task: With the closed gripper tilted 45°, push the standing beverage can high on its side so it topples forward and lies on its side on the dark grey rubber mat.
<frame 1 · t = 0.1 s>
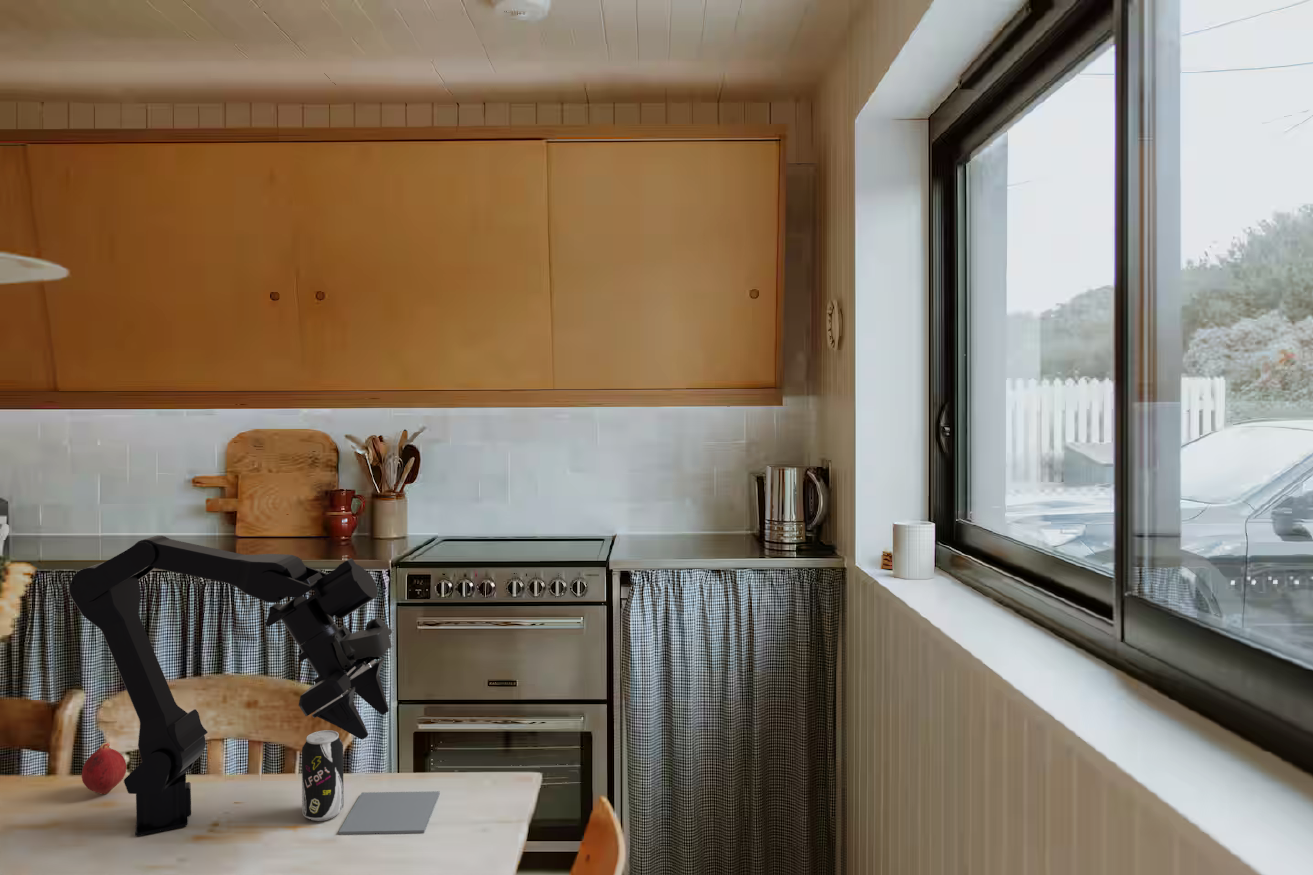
hand: (376, 724, 125), 15 cm above the table, tool tilted 35°, fingers open, 9 cm apart
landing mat: (391, 812, 130), on the table
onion: (104, 795, 135), on the table
beverage can: (323, 815, 129), on the table
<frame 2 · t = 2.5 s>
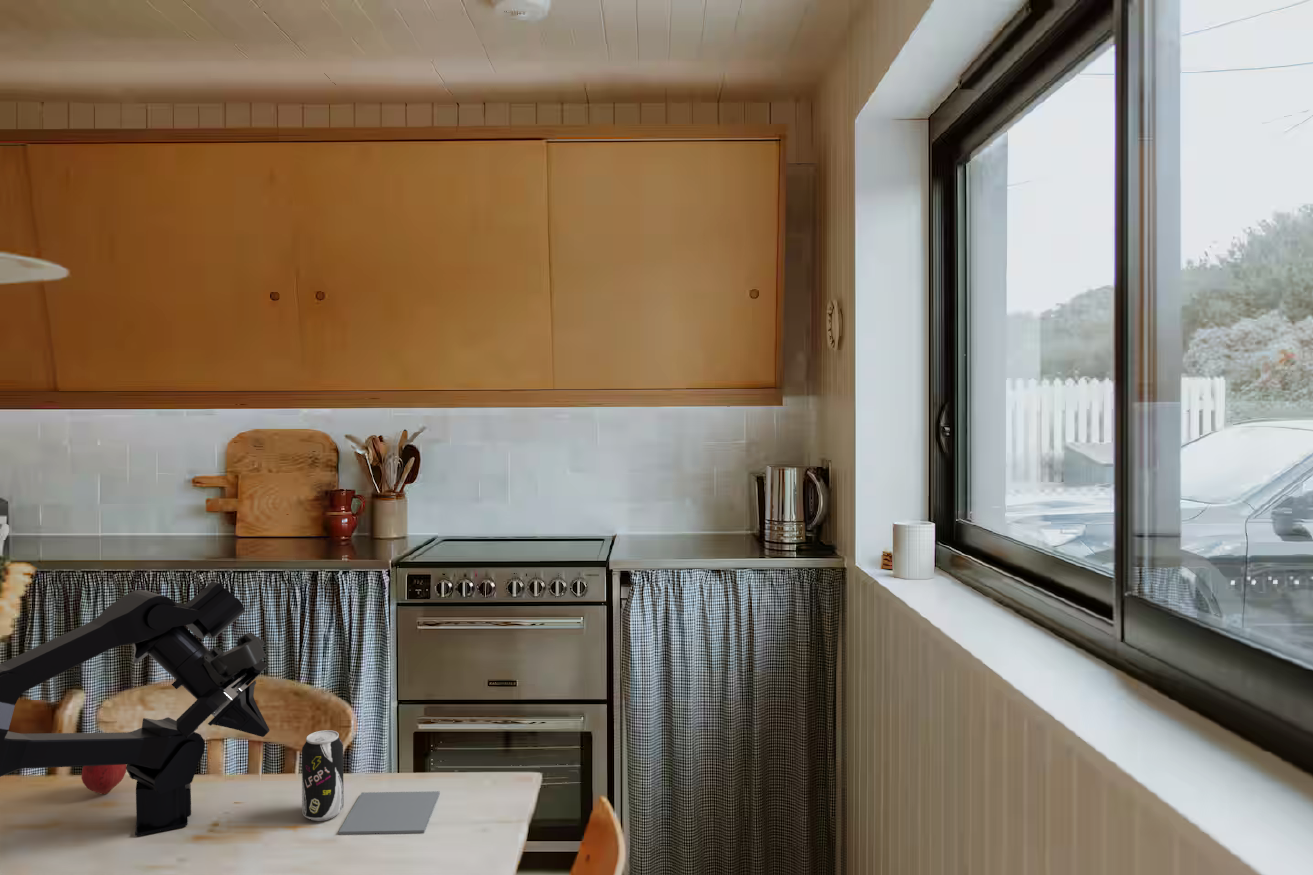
hand: (266, 733, 128), 12 cm above the table, tool tilted 45°, fingers closed
nothing on the table moved.
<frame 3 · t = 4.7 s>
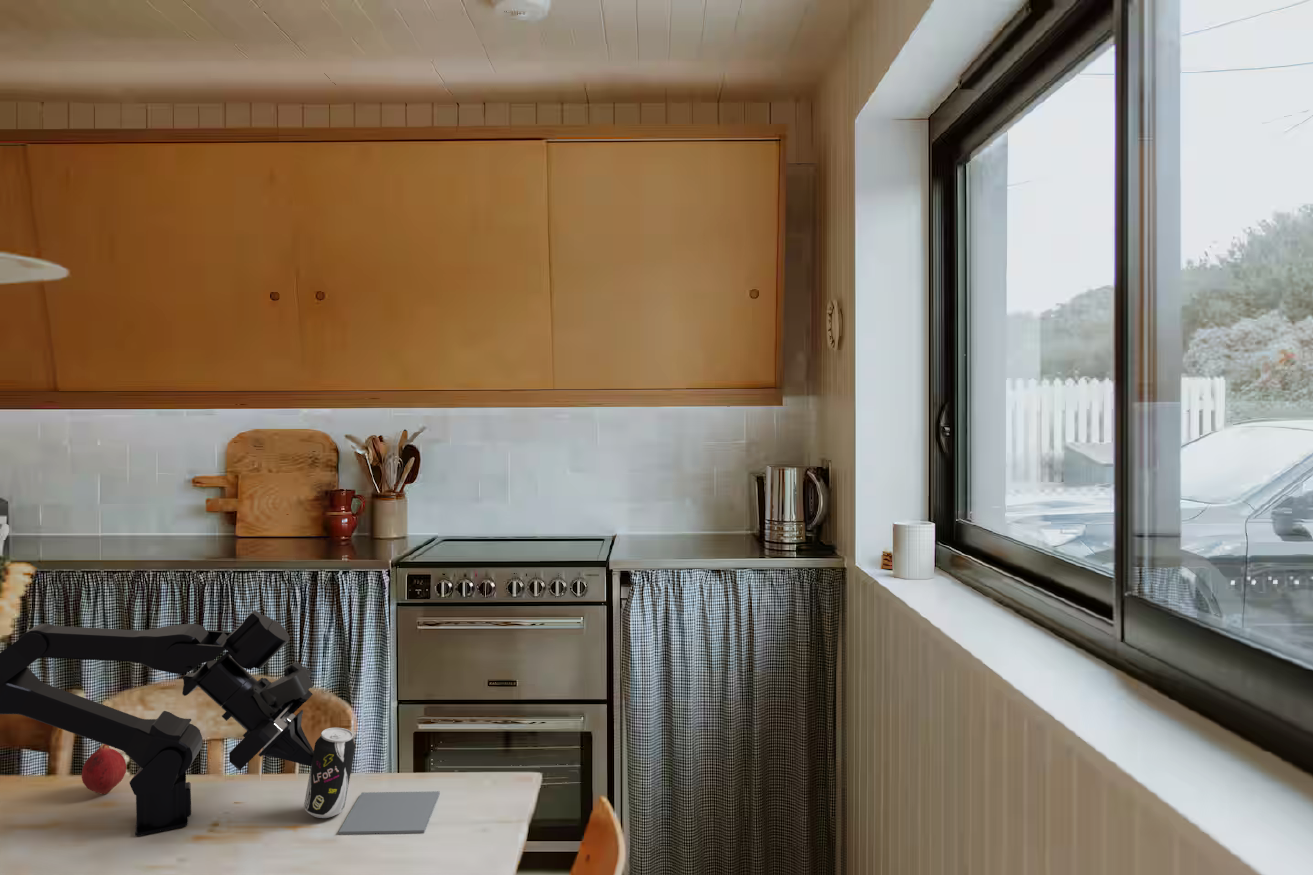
hand: (315, 763, 129), 8 cm above the table, tool tilted 45°, fingers closed
beverage can: (323, 812, 129), on the table, touching gripper
everything else where it was.
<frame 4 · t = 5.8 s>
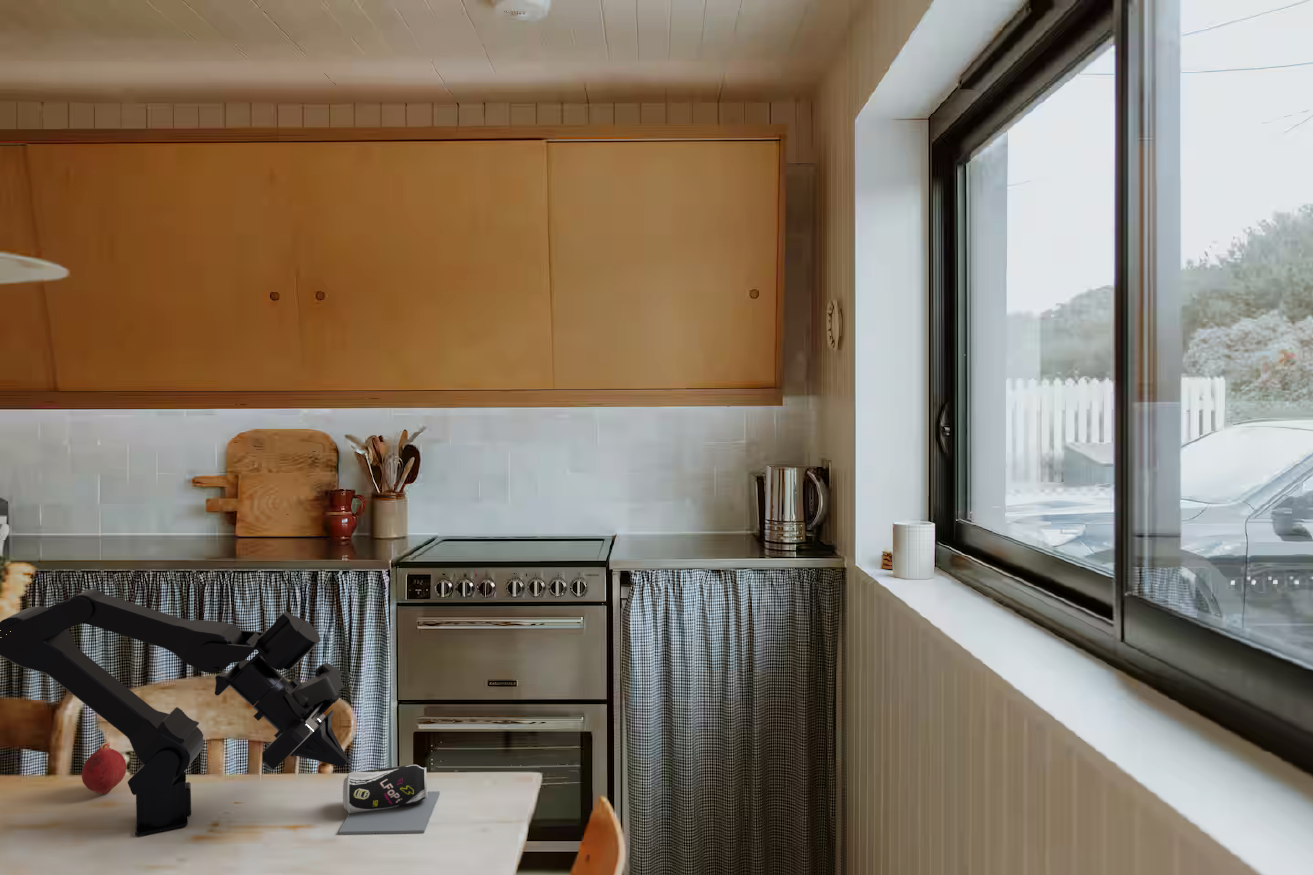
hand: (345, 763, 129), 8 cm above the table, tool tilted 45°, fingers closed
beverage can: (342, 793, 130), point 3 cm above the table, touching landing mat
everything else where it was.
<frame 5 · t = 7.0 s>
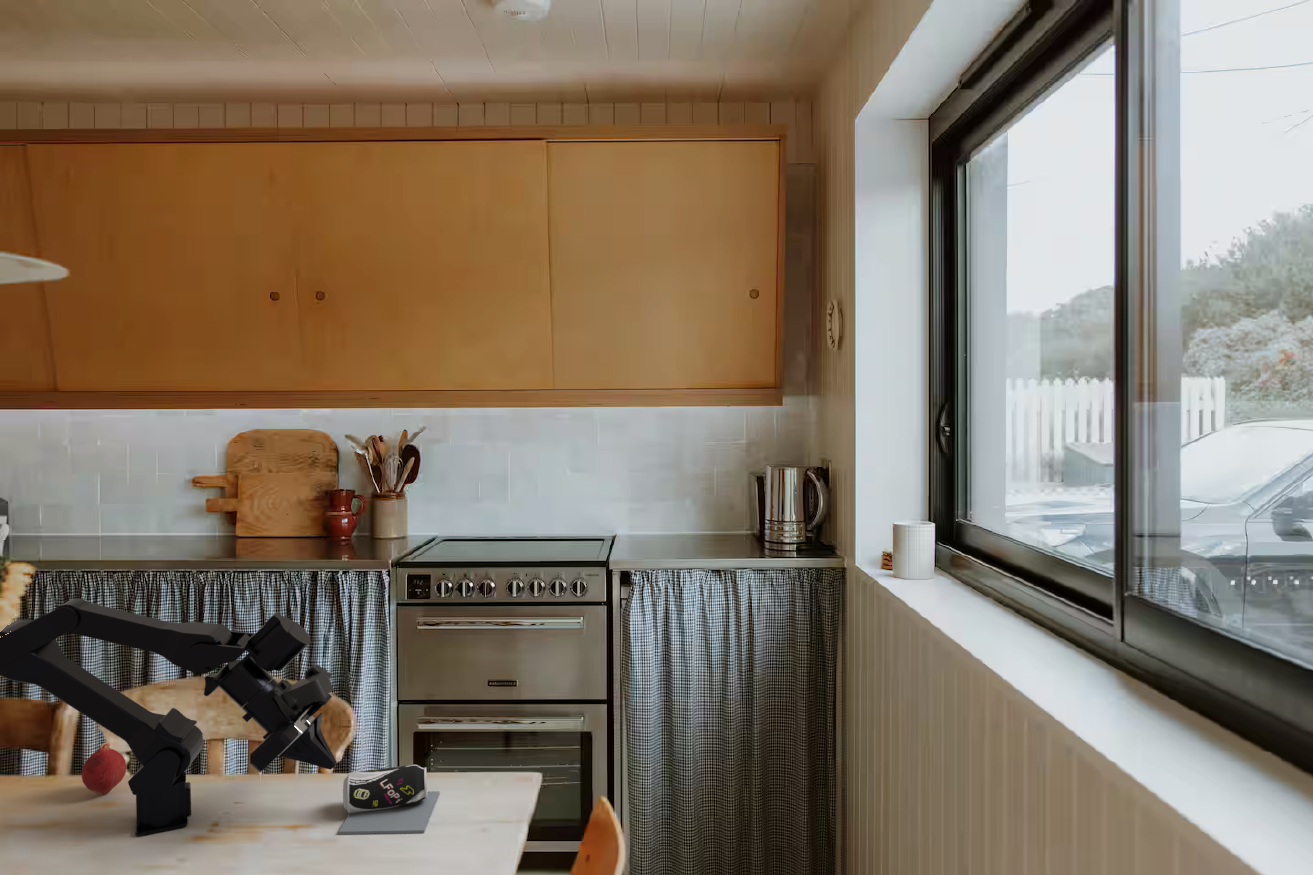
hand: (334, 766, 129), 7 cm above the table, tool tilted 45°, fingers closed
beverage can: (342, 793, 130), point 3 cm above the table, touching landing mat
everything else where it was.
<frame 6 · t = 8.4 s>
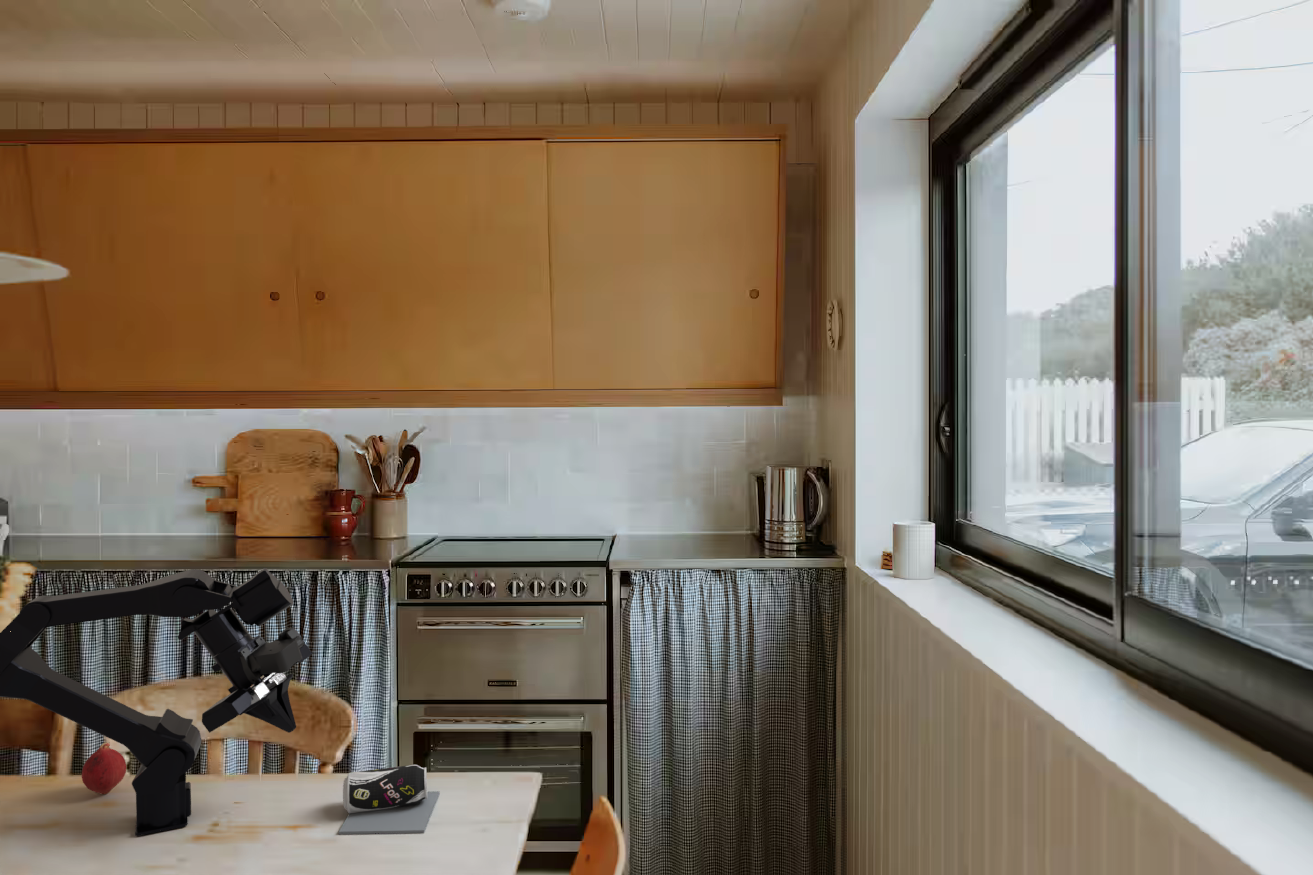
hand: (292, 730, 129), 12 cm above the table, tool tilted 35°, fingers closed
nothing on the table moved.
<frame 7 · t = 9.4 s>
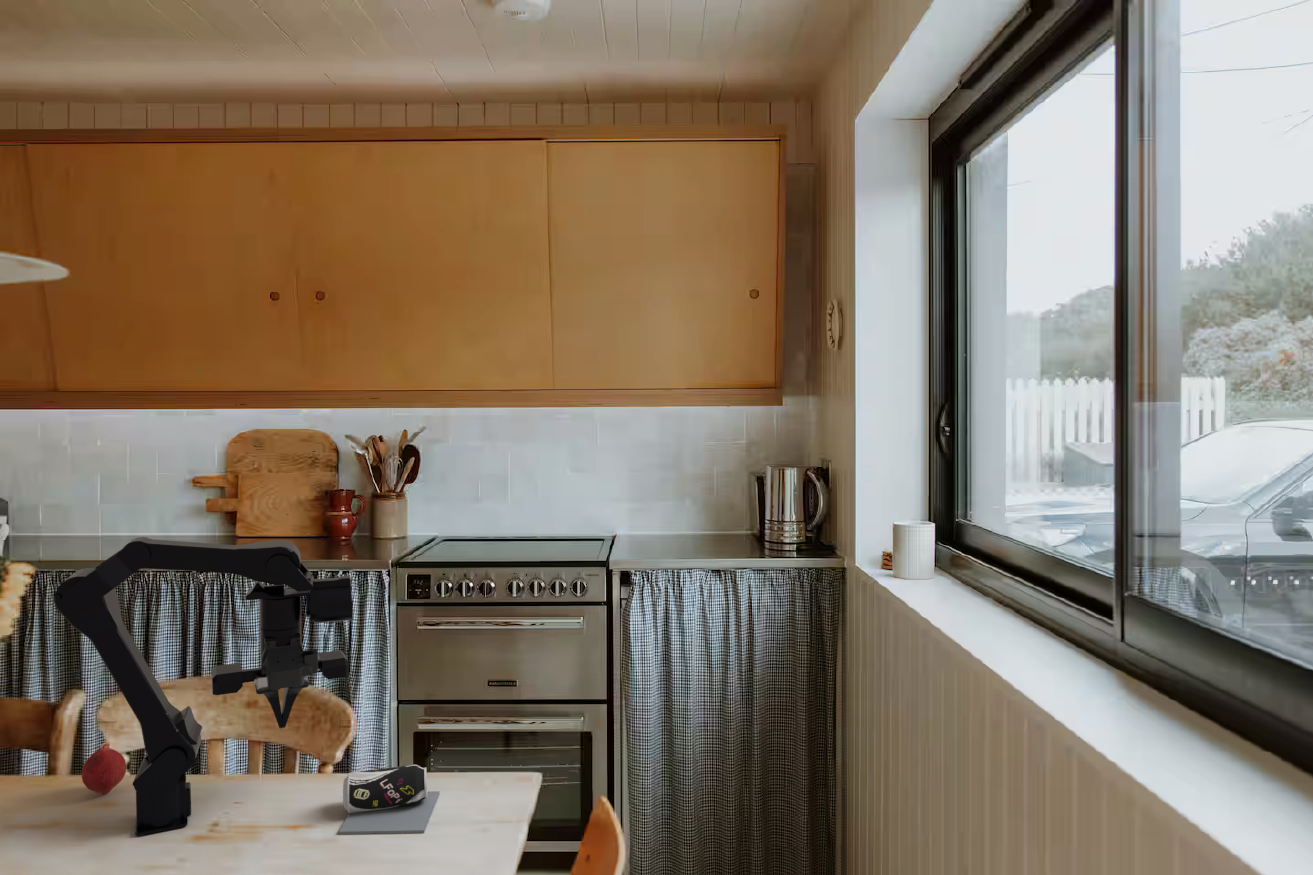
hand: (282, 727, 131), 12 cm above the table, tool pointing down, fingers closed
nothing on the table moved.
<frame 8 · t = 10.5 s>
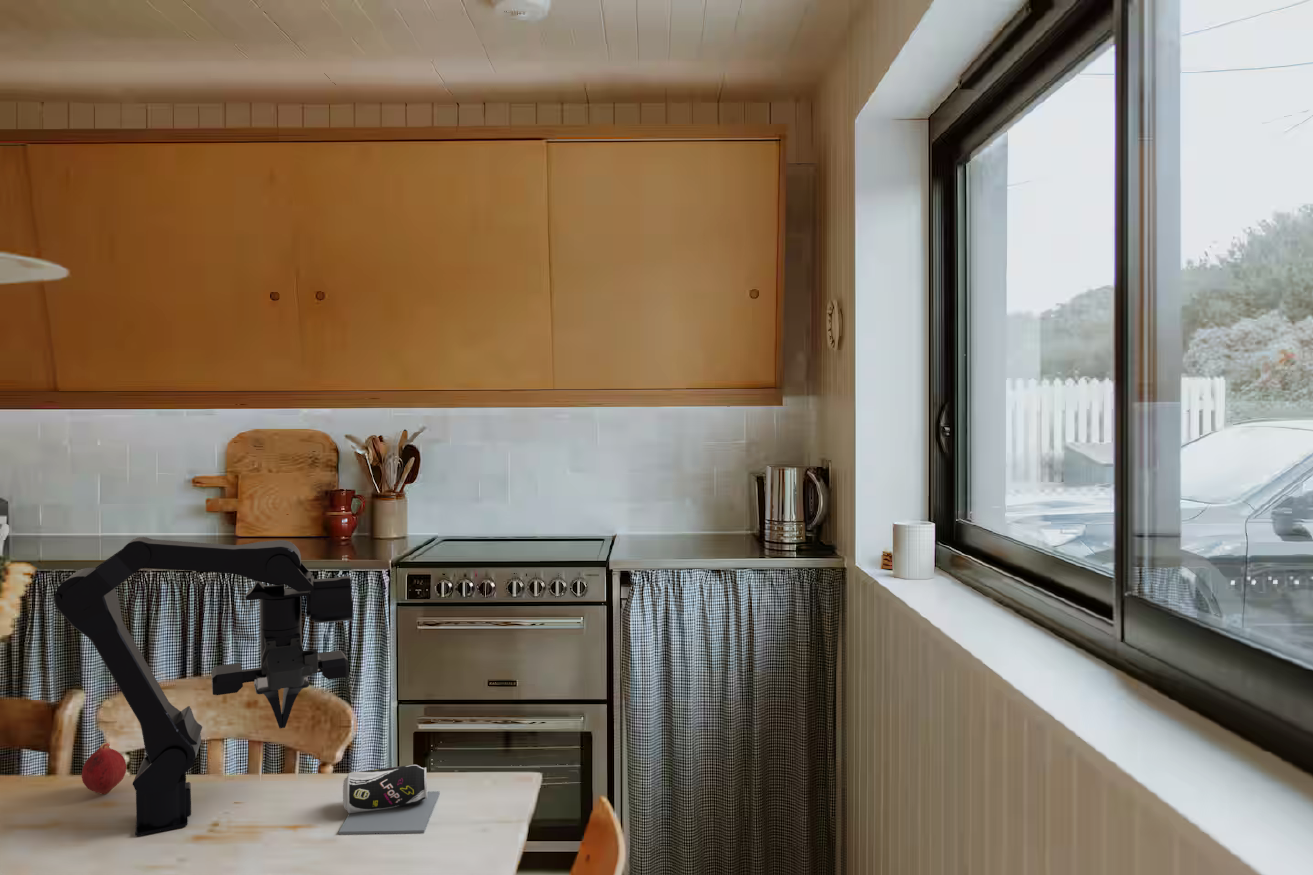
hand: (282, 727, 131), 12 cm above the table, tool pointing down, fingers closed
nothing on the table moved.
at the end: beverage can tilted 88°; beverage can touching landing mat, table; beverage can inside the target area (1.8 cm from its centre), point 2.9 cm above the table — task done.
